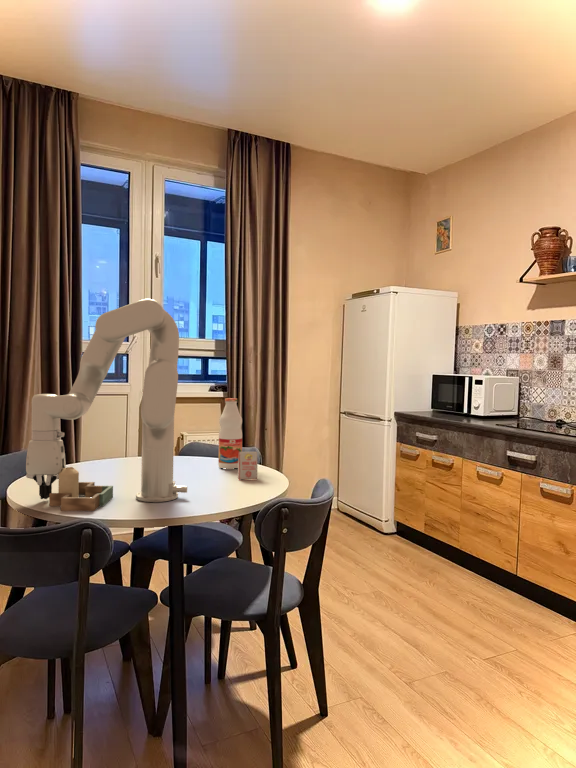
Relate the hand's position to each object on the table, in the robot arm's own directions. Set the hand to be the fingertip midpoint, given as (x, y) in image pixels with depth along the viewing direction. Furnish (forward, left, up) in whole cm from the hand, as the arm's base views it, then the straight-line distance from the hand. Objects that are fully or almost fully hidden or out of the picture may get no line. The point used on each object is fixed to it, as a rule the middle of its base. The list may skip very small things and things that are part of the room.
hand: (45, 497), depth 160 cm
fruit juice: (-52, -56, -1) cm, 76 cm away
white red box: (-59, -34, -1) cm, 68 cm away
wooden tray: (-11, 0, -1) cm, 11 cm away
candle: (-7, 0, -1) cm, 7 cm away
